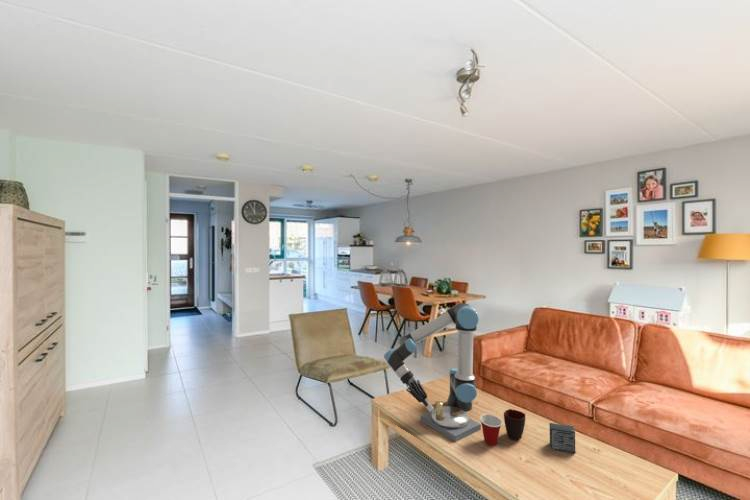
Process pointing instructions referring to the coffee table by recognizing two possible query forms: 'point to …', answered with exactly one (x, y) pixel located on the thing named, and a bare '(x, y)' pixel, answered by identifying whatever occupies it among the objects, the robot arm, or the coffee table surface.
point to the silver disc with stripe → (449, 416)
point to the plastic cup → (490, 428)
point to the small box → (562, 437)
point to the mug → (514, 423)
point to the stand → (452, 433)
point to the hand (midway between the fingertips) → (432, 410)
